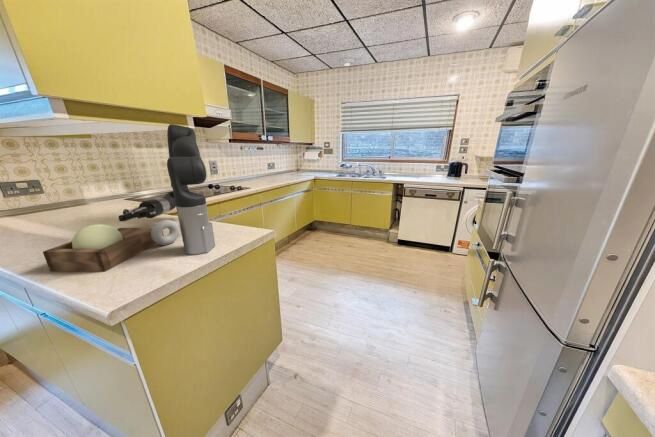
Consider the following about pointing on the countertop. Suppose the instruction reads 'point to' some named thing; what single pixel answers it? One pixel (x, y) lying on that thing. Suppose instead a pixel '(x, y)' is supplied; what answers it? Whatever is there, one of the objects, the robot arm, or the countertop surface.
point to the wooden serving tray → (100, 252)
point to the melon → (96, 237)
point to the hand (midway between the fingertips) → (121, 218)
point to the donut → (159, 227)
